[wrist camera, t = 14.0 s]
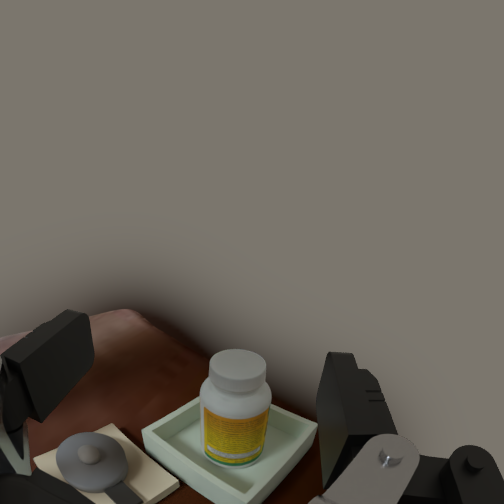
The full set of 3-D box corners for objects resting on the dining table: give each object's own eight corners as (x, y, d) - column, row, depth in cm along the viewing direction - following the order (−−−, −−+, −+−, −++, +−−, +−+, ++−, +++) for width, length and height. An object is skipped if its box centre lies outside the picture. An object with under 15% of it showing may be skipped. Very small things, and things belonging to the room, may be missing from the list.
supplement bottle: (194, 434, 25) (191, 347, 23) (248, 424, 27) (256, 339, 25) (212, 477, 20) (212, 390, 18) (273, 462, 22) (289, 375, 20)
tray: (146, 451, 22) (141, 430, 22) (222, 402, 31) (223, 380, 30) (244, 520, 16) (246, 503, 16) (312, 445, 25) (318, 423, 24)
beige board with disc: (36, 465, 17) (25, 444, 16) (113, 430, 24) (108, 409, 24) (92, 540, 12) (80, 525, 11) (179, 486, 19) (176, 468, 19)
